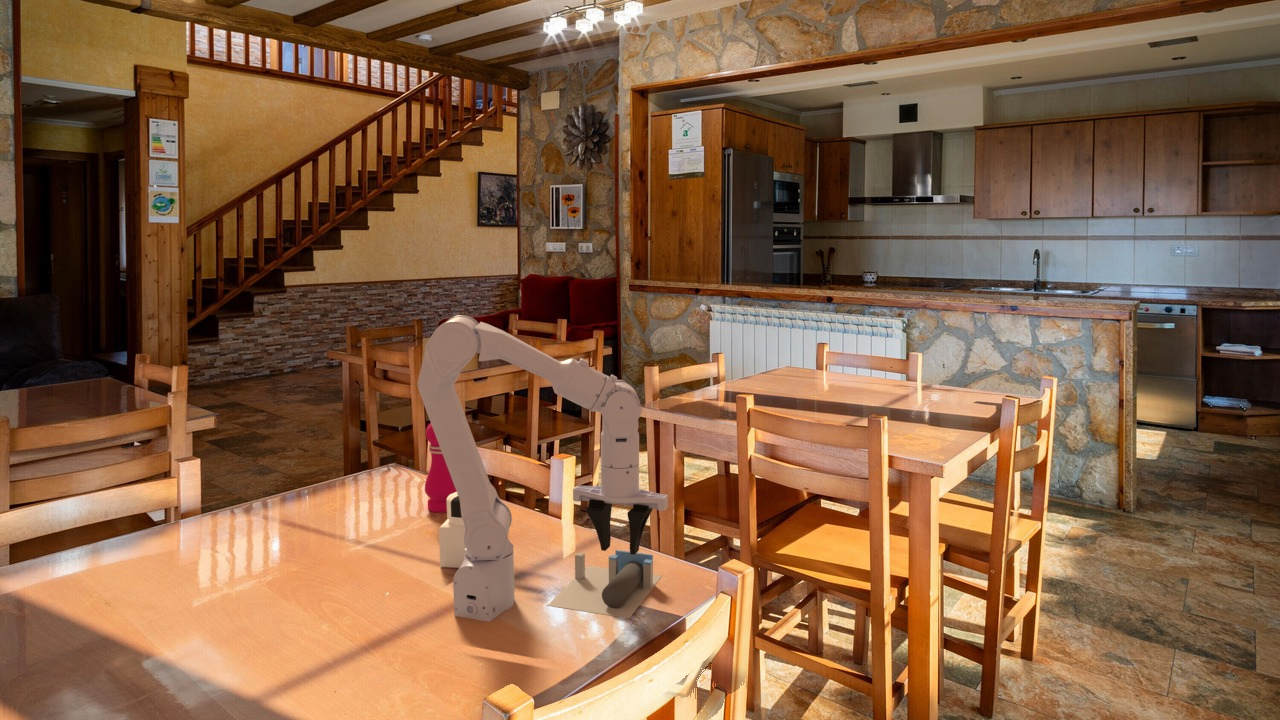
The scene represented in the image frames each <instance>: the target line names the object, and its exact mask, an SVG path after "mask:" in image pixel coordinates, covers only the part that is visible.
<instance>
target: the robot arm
mask: <svg viewBox="0 0 1280 720" xmlns="http://www.w3.org/2000/svg"><path fill="white" fill-rule="evenodd" d="M476 354H479V355H478V356H479V357H478V362H486V361H494V360H495V361H496V360H502V361H505V362H507V363H510V364H511V365H514V366H516V367H517V368H520V369H523V370H525V371H527V372H529V373H531V374H533V375H536V376H538V377H541V378H543V379H545V380H547V381H549V382H550V383H551V386H552V389H553V392H554V394H556V395H558V396H560V397H562V398H564V399H566V400H568V401H570V402H572V403H574V404H576V405H578V406H580V407H582V408H584V409H586V410H589V411H590V412H591V413H593V412H599V413H600V414H601V416H602V421H601V422H602V429H601V432H600V485H577V486H575V487H574V488H573V489H572V500H573V502H581V501H585V502H588V506H586V509H585V511H586V514H587V516H588V517H589V518H590V521H591V522H592V524H593V526H594V529H595V531H596V534H597V538H598V541H599V545H600V550H601V551H603V552H606V551H607V550H608V549H609V548H610V547H611V537H612V536H611V517H612V509H613V505H619V506H621V505H622V506H630V507H632V508H631V509H629V511H627V520H628V526H629V552H630V554H632V555H635V554H636V553H639V550H640V544H641V539H642V536H643V532H644V529H645V528H646V524H647V521H649V518H650V515H651V513H652V511H653V510H656V509H657V511H659V512H665V511H666V510H667V508H668V507H669V494H664V493H663V494H662V493H657V492H654V491H649V490H646V489H645V490H644V489H641V488H640V434H639V433H640V432H638V431H639V428H640V427H639V419H640V417H641V415H642V411H643V407H642V406H641V400H640V398H639V396H638V394H637V392H636V389H635V388H634V387H633V386H631V385H630V384H629V383H627V382H626V381H625V380H622V379H618V377H617V376H615V375H614V374H611V375H610V376H609V375H607V374H604V373H603V372H601V371H599V370H597V369H595V368H593V367H591V366H589V363H590V362H589V361H588V360H587V359H584V358H582V357H581V358H580V359H579V360H577V359H575V358H573V357H572V358H568V359H565V360H558V359H555V358H554V357H552V356H550V355H548V354H547V353H545V352H543V351H541V350H539V349H538V348H536V347H534V346H532V345H530V344H528V343H526V342H525V341H523V340H521V339H519V338H517V337H516V336H513V335H512V334H510V333H508V332H506V331H505V330H502V329H500V328H498V327H495V326H493V325H491V324H489V323H486V322H483V321H480V322H478V321H477V320H476V319H474V318H473V317H471V316H469V315H465V314H463V315H462V314H461V315H459V314H458V315H455V316H452V317H450V318H448V319H447V320H446V321H445V322H443V323H441V324H440V325H439V326H438V327H436V329H435V330H434V332H433V333H432V335H431V336H430V338H429V339H428V340H427V342H426V344H425V346H424V355H423V358H422V362H421V366H420V371H419V375H418V379H417V389H418V393H419V395H420V398H421V399H422V403H423V406H424V408H425V411H426V413H427V417H428V419H429V421H430V424H432V427H433V430H434V432H435V435H436V438H437V440H438V443H439V446H440V448H441V451H442V454H443V456H444V459H445V462H446V464H447V467H448V469H449V472H450V475H451V477H452V480H453V483H454V485H455V488H456V491H457V493H458V496H459V499H460V507H461V516H462V519H463V522H464V525H465V533H464V544H465V555H464V561H463V564H462V565H461V567H460V568H457V570H456V572H455V574H454V576H453V579H452V580H453V581H452V584H453V585H452V586H453V610H454V612H453V613H454V614H453V616H454V617H460V618H465V619H471V620H476V621H477V620H478V621H482V622H492V621H493V620H494V619H496V617H497V616H499V615H500V614H501V613H503V612H505V611H507V610H509V609H510V608H512V607H513V606H514V604H515V603H516V602H515V567H514V566H515V563H514V562H515V561H514V559H515V558H514V557H515V555H514V554H515V553H514V544H513V543H512V542H511V541H510V539H509V531H510V527H511V526H512V520H513V516H512V512H511V509H510V508H509V506H508V505H506V503H505V502H504V501H502V500H501V498H500V497H499V495H498V491H497V490H496V488H495V487H494V485H492V483H491V481H490V479H489V477H488V474H487V471H486V468H485V465H484V463H483V460H482V457H481V454H480V452H479V449H478V447H477V444H476V440H475V439H474V436H473V433H472V429H471V427H470V425H469V422H468V419H467V417H466V414H465V412H464V408H463V406H462V403H461V401H460V398H459V395H458V391H457V390H456V389H457V388H456V387H455V386H456V383H457V380H458V379H459V377H460V375H461V373H462V371H463V370H464V367H465V366H466V365H467V364H468V363H469V362H471V360H473V358H474V357H475V355H476Z"/></svg>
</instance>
